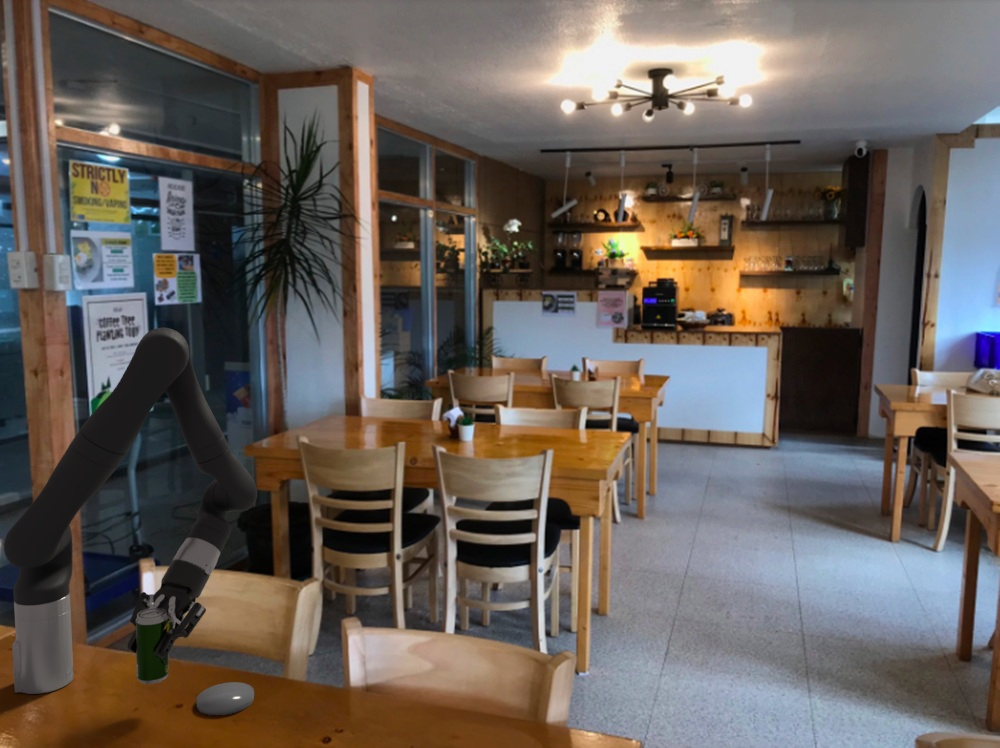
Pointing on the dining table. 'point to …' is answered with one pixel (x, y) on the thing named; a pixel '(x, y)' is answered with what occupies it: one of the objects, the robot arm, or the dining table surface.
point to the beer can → (151, 645)
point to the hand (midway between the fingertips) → (145, 653)
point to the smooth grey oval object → (225, 698)
